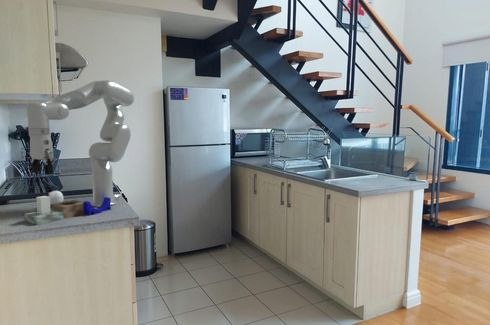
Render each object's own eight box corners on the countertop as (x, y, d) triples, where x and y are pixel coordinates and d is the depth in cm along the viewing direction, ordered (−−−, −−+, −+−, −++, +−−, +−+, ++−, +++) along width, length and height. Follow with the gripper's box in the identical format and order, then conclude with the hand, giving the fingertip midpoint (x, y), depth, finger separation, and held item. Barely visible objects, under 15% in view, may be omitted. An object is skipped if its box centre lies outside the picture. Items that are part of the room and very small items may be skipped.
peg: (46, 218, 150) (45, 195, 149) (50, 219, 148) (49, 196, 147) (37, 220, 147) (36, 197, 146) (42, 221, 145) (40, 198, 144)
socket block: (74, 210, 164) (73, 199, 163) (86, 213, 159) (86, 202, 158) (24, 220, 145) (24, 209, 145) (37, 224, 140) (36, 212, 140)
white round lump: (46, 205, 173) (45, 190, 172) (63, 203, 176) (63, 189, 175) (45, 208, 166) (44, 193, 165) (63, 207, 169) (62, 191, 168)
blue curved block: (89, 215, 155) (89, 202, 154) (83, 214, 157) (83, 201, 157) (112, 210, 165) (112, 198, 164) (106, 209, 167) (106, 196, 167)
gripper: (59, 132, 142) (62, 173, 144) (37, 131, 151) (41, 170, 153) (41, 133, 135) (44, 176, 138) (19, 132, 145) (23, 172, 147)
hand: (42, 173), depth 146 cm, fingers open, 9 cm apart
